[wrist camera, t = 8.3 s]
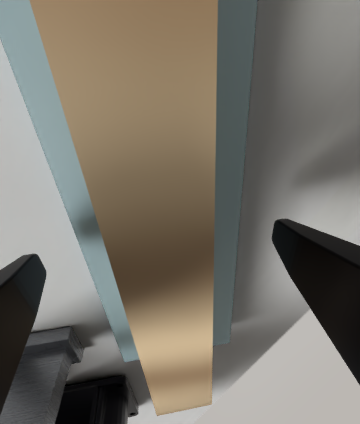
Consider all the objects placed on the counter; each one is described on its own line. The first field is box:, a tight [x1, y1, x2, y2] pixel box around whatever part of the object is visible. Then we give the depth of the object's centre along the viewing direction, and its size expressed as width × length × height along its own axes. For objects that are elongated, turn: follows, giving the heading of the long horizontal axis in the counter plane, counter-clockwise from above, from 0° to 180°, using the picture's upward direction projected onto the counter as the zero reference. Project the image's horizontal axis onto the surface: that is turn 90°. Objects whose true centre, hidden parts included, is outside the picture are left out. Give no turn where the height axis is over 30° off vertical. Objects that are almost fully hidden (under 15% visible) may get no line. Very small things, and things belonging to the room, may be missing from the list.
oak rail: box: [29, 0, 218, 416], centre depth 8 cm, size 20×3×3 cm, turn 4°
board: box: [0, 0, 258, 362], centre depth 10 cm, size 20×7×1 cm, turn 4°
